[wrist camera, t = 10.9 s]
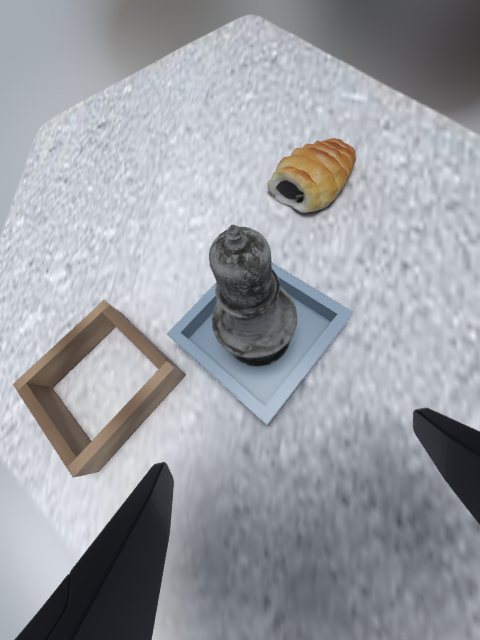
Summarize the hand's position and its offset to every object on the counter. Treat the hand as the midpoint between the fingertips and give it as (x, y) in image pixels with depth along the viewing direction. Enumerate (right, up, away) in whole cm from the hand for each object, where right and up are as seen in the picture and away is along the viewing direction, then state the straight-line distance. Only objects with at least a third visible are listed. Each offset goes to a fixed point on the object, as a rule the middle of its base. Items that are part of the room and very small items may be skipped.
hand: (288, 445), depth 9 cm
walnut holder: (-13, -1, +12) cm, 18 cm away
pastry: (+6, +19, +18) cm, 27 cm away
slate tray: (0, +3, +12) cm, 12 cm away
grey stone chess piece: (0, +3, +12) cm, 12 cm away
